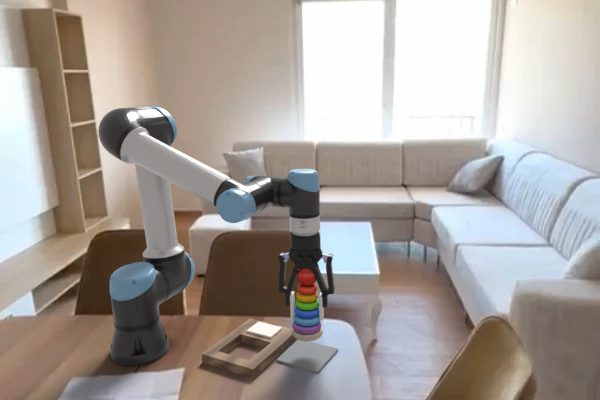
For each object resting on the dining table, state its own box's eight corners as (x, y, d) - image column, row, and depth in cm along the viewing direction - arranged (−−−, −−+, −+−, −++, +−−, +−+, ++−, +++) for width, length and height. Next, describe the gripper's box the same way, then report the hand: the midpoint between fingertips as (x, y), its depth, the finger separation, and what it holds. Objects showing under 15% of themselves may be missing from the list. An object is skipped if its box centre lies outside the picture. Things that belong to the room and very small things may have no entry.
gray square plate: (276, 361, 128) (276, 359, 127) (298, 340, 138) (298, 338, 138) (317, 373, 122) (317, 371, 122) (338, 350, 132) (338, 348, 132)
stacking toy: (320, 344, 124) (318, 273, 120) (289, 341, 125) (286, 272, 121) (325, 329, 131) (323, 262, 127) (295, 326, 133) (293, 261, 129)
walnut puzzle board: (202, 362, 128) (201, 351, 127) (250, 326, 147) (250, 316, 146) (253, 378, 120) (252, 367, 120) (297, 338, 139) (297, 328, 138)
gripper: (262, 235, 120) (266, 322, 125) (343, 237, 117) (344, 326, 122) (269, 226, 127) (272, 309, 132) (346, 228, 124) (346, 312, 129)
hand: (307, 317), depth 127 cm, fingers closed on stacking toy, 7 cm apart
